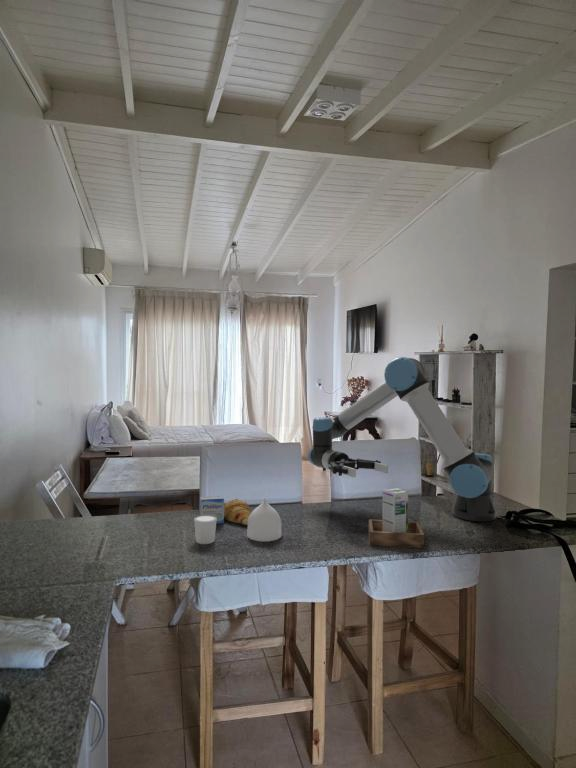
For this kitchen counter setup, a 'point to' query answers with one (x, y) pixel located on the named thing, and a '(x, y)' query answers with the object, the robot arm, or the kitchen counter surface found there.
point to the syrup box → (395, 511)
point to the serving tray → (396, 535)
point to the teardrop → (264, 523)
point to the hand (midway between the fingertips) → (371, 471)
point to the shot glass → (205, 529)
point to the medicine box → (213, 507)
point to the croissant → (237, 511)
